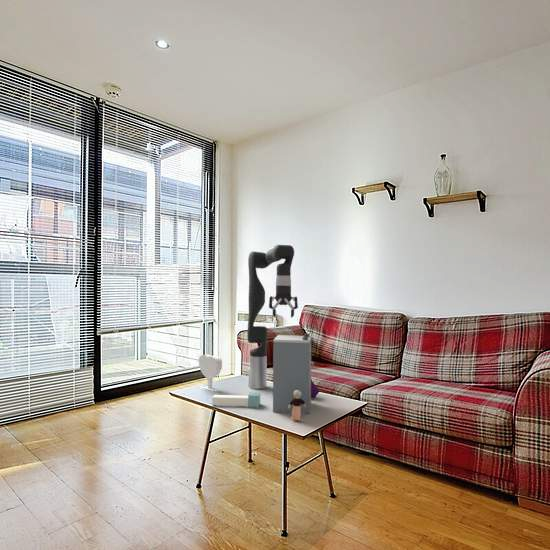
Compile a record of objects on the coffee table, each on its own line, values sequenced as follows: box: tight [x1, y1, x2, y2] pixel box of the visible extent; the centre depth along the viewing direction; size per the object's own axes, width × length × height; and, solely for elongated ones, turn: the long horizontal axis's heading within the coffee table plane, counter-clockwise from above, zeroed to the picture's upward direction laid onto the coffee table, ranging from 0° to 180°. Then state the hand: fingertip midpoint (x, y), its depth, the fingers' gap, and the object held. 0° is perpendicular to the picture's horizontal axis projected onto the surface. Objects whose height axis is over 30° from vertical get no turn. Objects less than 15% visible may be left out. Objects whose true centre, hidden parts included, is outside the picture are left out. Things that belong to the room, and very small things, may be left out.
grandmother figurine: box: [288, 390, 306, 422], centre depth 170 cm, size 8×4×13 cm, turn 114°
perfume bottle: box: [311, 360, 321, 400], centre depth 204 cm, size 8×8×18 cm
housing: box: [272, 333, 312, 414], centre depth 188 cm, size 16×16×33 cm
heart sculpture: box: [198, 354, 223, 392], centre depth 219 cm, size 16×5×18 cm, turn 48°
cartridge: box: [211, 391, 261, 409], centre depth 190 cm, size 22×6×6 cm, turn 86°
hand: (283, 317), depth 203 cm, fingers open, 8 cm apart
